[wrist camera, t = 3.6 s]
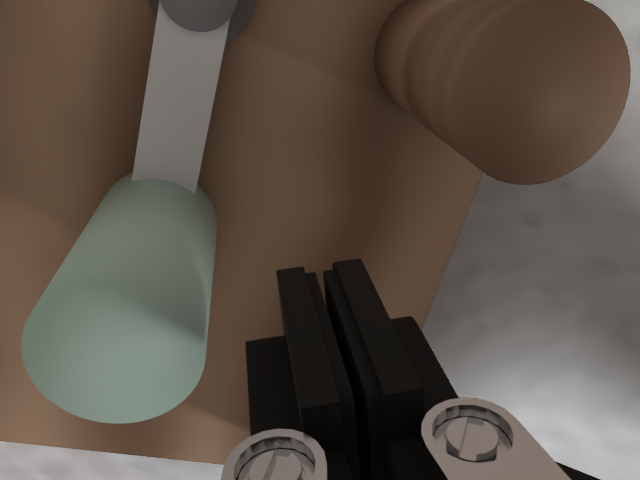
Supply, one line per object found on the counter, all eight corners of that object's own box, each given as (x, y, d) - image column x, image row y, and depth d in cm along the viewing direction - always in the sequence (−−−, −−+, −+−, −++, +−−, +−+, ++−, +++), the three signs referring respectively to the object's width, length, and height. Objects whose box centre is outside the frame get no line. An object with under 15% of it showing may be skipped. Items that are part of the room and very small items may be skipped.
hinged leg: (138, -72, 15) (61, -114, 8) (274, -31, 16) (299, -41, 9) (92, 263, 18) (15, 412, 12) (205, 283, 19) (188, 433, 13)
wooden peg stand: (520, -20, 19) (746, -23, 11) (352, 437, 27) (406, 654, 18) (-156, -245, 15) (-695, -555, 6) (-137, 377, 22) (-375, 626, 14)
